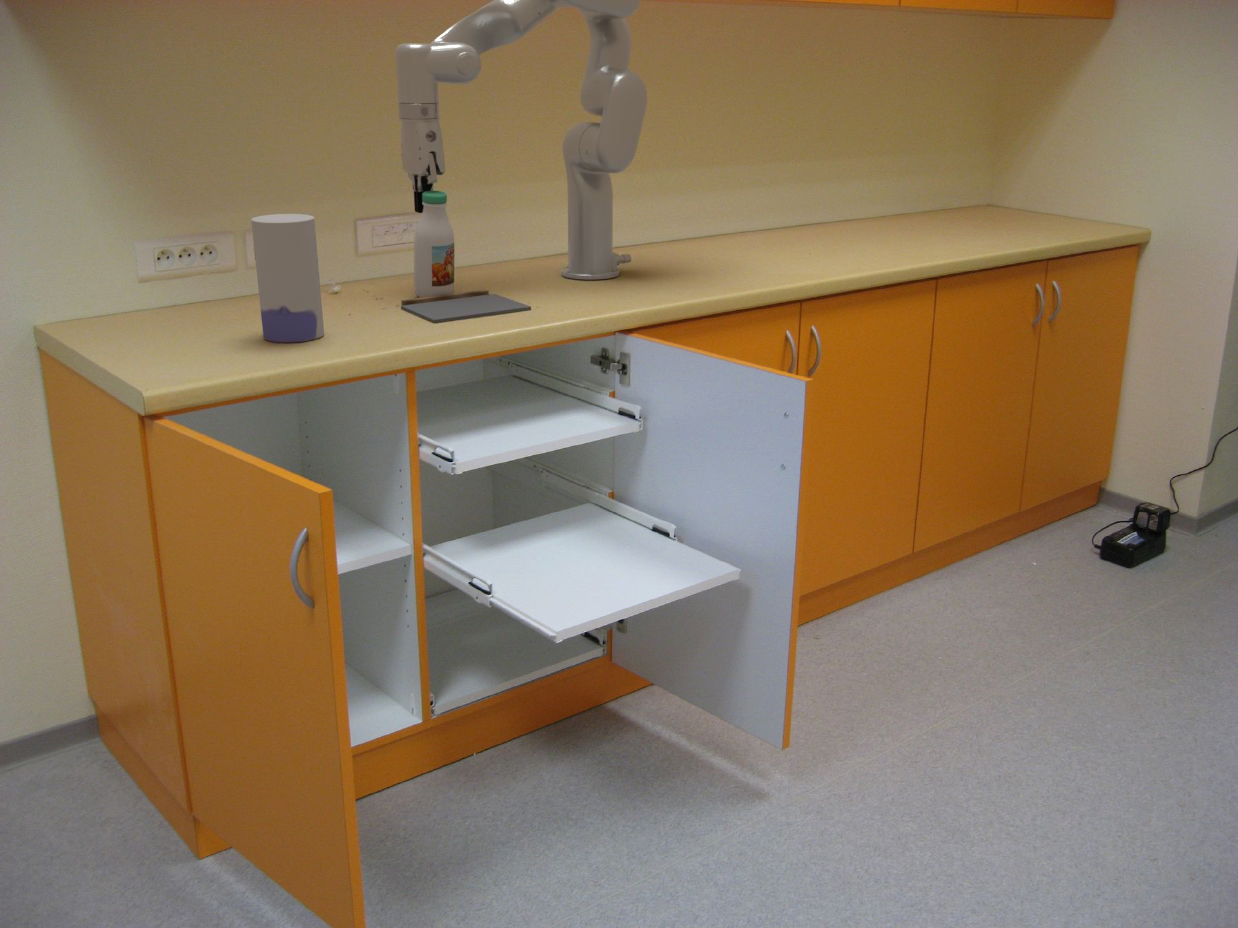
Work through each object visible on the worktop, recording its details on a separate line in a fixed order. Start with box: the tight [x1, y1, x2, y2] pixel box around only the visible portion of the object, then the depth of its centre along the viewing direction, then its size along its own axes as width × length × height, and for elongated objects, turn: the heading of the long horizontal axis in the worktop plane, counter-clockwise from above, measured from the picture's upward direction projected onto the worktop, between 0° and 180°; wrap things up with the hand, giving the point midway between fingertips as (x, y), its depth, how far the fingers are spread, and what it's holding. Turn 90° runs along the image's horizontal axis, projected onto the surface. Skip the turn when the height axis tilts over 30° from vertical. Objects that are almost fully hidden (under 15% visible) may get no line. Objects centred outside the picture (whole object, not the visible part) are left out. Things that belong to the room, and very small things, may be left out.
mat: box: [400, 293, 532, 324], centre depth 216 cm, size 20×14×1 cm
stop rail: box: [401, 289, 490, 306], centre depth 222 cm, size 18×1×1 cm, turn 124°
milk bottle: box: [413, 190, 455, 298], centre depth 222 cm, size 8×8×20 cm
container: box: [250, 213, 325, 343], centre depth 192 cm, size 10×10×20 cm
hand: (424, 212), depth 223 cm, fingers closed
